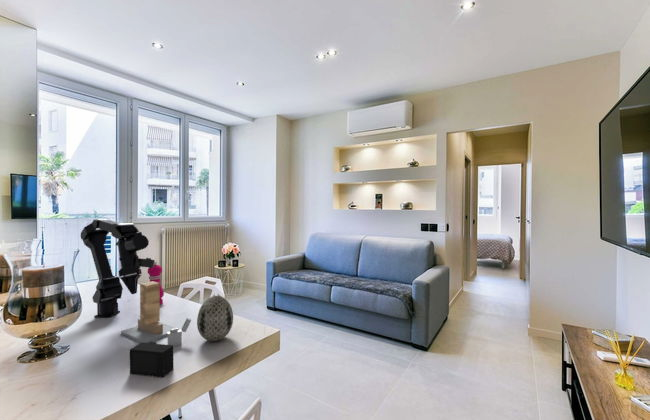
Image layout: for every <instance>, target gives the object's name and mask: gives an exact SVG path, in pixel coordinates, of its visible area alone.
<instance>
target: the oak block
mask: <svg viewBox="0 0 650 420" xmlns="http://www.w3.org/2000/svg"><path fill="white" fill-rule="evenodd" d="M160 307H161V305H160V292H159V283H158V282H154V281H152V282H150V281H147V282H143V283H139V311H140V312H139V314H140V315H139V316H140V317H139V319H140V323H143V324H145V325H149V324H152V323H155V322H158V321H159V322H161V321H160V317H161V315H160V314H161V313H160V312H161V310H160V309H161V308H160Z"/></svg>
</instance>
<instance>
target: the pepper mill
mask: <svg viewBox="0 0 650 420" xmlns="http://www.w3.org/2000/svg"><path fill="white" fill-rule="evenodd" d="M162 272H163V267H162V266H161V265H159V264H158V262H157V261H155V262H154V266H153V268H149V267H147V274H148V275H149V276H148V279H149V282H152V281H154V282H158V283H159V292H160V306H161V305H163V303H164V302H163V301H164V299H163V297H164V295H165V292H164V289H163V286H162V285H161V279H162Z"/></svg>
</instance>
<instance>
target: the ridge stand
mask: <svg viewBox="0 0 650 420" xmlns="http://www.w3.org/2000/svg"><path fill="white" fill-rule="evenodd" d="M174 328H176V327H175V326H171V325H170V324H167V323H164V322H161V321H158V322H155V323H152V324H149V325H145V324H143V323H140V318H139V319H137V325H136V326H132V327H129V328H127V329H123V330H121V331H120V334H121V335H122V336H125V337H127V338H129V339H131V340H134V341H136V342H138V343H139V344H140V343H149V342H156V341H158V340H160V339H163V338H166V337H168V336H167V332H170V330H171V329H174ZM178 330H180V329H179V328H178Z"/></svg>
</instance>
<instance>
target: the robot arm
mask: <svg viewBox="0 0 650 420" xmlns="http://www.w3.org/2000/svg"><path fill="white" fill-rule="evenodd" d="M109 233H111V236H112V237H113V238H115V239H117V241H116V243H115V246H117V247H118V248H117V249H118V255H119V262H120V269H119V270H118V276H114V275H113V271H112V268H111V265H110V261H109V257H108V254H107V252H106V248H105V244H106V241H107V237H108V234H109ZM80 239H81V240H82V241H83V245H84V246H86V247H87V248H89V250H90V251H91V252H90V253H91V256H92V259H93V264H94V266H95V270H96V273H97V278H98V282H97V284H96V287H95V288H96V290H95V292H94V294H93V295H92V298H91V299H92V302H93V303H95V304H97V305H96V306H97V307H96V308H97V314H95V315H94V316H93V317H94V318H111V317H113V316H115V315H116V314H119V313H120V312H121V310H119V302H118V299H119V300H120V299H122V294H123V290H124V288H123V286H122V283H123V285H125V287H126V288H127V289H128V291H129V293H130V294H131V295H135V294H137V293H138V283H139V282H138V281H139V279H140V278H141V276H142V273H143V272H142V269H141V267H142V268H153V266H154V262H156V261H155V259H151V258H149V257H146V258H139V255H138V252H139V251H141V250H144V249H146V248H147V247H148V246H149V243H150V242H149V239H148V238H147V236H145V235H143V233H142V231H140V230H139V229H138V227H136V225H135V223H133V222H127V223H126V222H124V223H120V222H117V221H113V220H110V219H108V218H95V219H93V220H92V222H91V223H89V224H88V225H85V226H84V227H83V229H82V230H81V231H80ZM121 281H122V283H121Z"/></svg>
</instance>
